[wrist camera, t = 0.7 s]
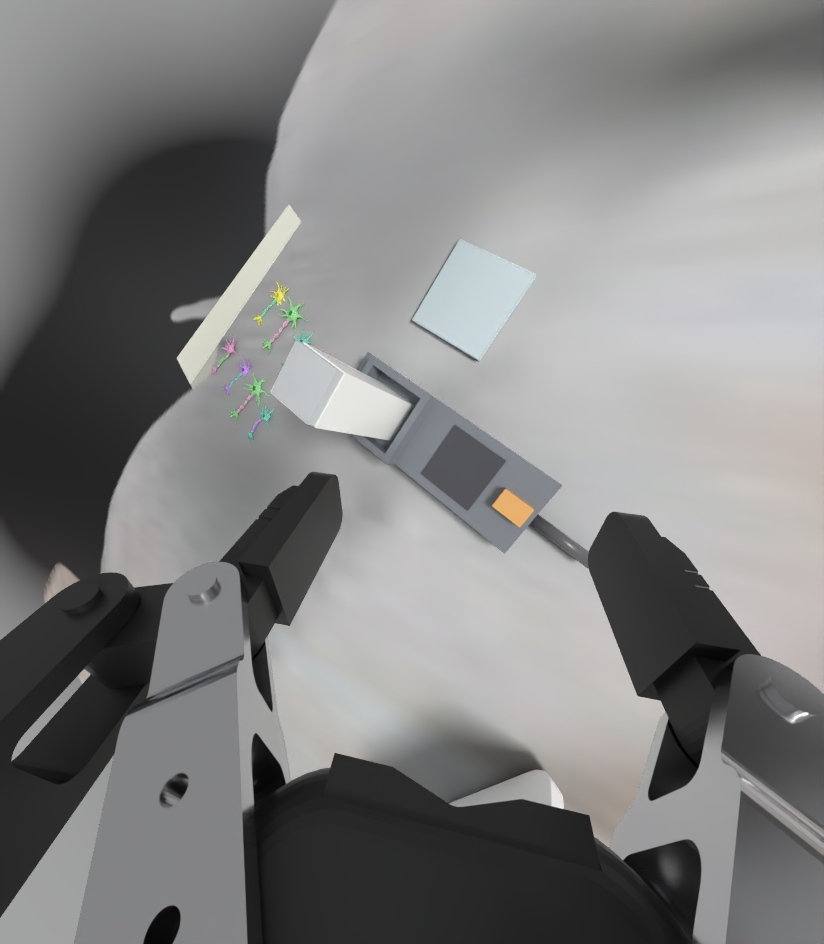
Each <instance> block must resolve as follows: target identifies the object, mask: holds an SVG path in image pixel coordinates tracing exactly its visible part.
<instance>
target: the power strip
mask: <svg viewBox="0 0 824 944" xmlns="http://www.w3.org/2000/svg"><path fill="white" fill-rule="evenodd" d="M358 371H360V372H362V373H364V374H366V375H368V376H370V377H372V378H374V379H375V380H377V381H379V382H381V383H383V384H385V385H386V386H387V387H389V388H390V389H392V390H393V391H394V392H396V393H397V394H399V395H400V396H401V397H403V398H404V399H406V400H407V401H408V402H410V403H411V404H413V405H414V407H413V409H412V410H411V412H410V413H409V415H408V416H407V418H406V420H405V421H404V423H403V424H402V426H401V427H400V429H399V431H398V432H397V434H396V435H395V437H394V438H393V440H392V441H390V440H384V439H378V438H372V437H366V436H360V435H354V434H350V435H351V436H353V437H354V438H355V439H356V440H358V441H359V442H360V443H361V444H362V445H364V446H365V447H366V448H367V449H368V450H370V451H371V452H372V453H373V454H374V455H376V456H377V457H378V458H379V459H381V460H382V461H383V462H384V463H385V464H395V465H396V466H398V467H399V468H400V469H401V470H403V471H404V472H405V473H406V474H408V475H409V476H410V477H411V478H412V479H414V480H415V481H416V482H417V483H419V484H420V485H421V486H422V487H423V488H425V489H426V490H427V491H428V492H430V493H431V494H432V495H433V496H434V497H436V498H437V499H438V500H439V501H441V502H442V503H443V504H444V505H446V506H447V507H448V508H449V509H450V510H452V511H453V512H454V513H455V514H457V515H458V516H459V517H460V518H461V519H463V520H464V521H465V522H466V523H468V524H469V525H470V526H471V527H472V528H474V529H475V530H476V531H477V532H479V533H480V534H481V535H482V536H484V537H485V538H486V539H487V540H488V541H490V542H491V543H492V544H493V545H495V546H496V547H497V548H498V549H499V550H501V551H502V552H503V553H504V554H505V552H506V551H507V550H508V549H509V548H510V547H511V545H512V544H513V543H514V542H515V541H516V539H517V538H518V537H519V536H520V535H521V534H522V532H523V531H524V530H525V529H526V528H527V526H528V525H529V524H530V525H531V526H532V527H534V528H535V529H536V530H538V531H539V532H540V533H542V534H543V535H544V536H546V537H547V538H548V539H550V540H551V541H552V542H554V543H555V544H556V545H558V546H559V547H560V548H562V549H563V550H564V551H565V552H567V553H568V554H569V555H571V556H572V557H573V558H575V559H576V560H577V561H579V562H580V563H581V564H583V565H584V566H585V567H587V568H589V567H588V554H589V552H588V551H587V550H585V549H584V548H583V547H581V546H580V545H579V544H577V543H576V542H575V541H573V540H572V539H571V538H569V537H568V536H566V535H565V534H564V533H562V532H561V531H560V530H558V529H557V528H556V527H554V526H553V525H552V524H550V523H549V522H548V521H546V520H545V519H543V518H542V517H541V516H539V515H538V513H539V512H540V511H541V510H542V509H543V508H544V506H545V505H546V504H547V503H548V502H549V500H550V499H551V498H552V497H553V496H554V495H555V493H556V492H557V491H558V490H559V489H560V487H561V486H562V485H561V484H560V483H558V482H557V481H555V480H554V479H552V478H551V477H549V476H548V475H547V474H545V473H544V472H542V471H541V470H539V469H538V468H536V467H535V466H533V465H532V464H531V463H529V462H528V461H526V460H525V459H523V458H522V457H520V456H519V455H517V454H516V453H514V452H513V451H512V450H510V449H509V448H507V447H506V446H504V445H503V444H501V443H500V442H498V441H497V440H496V439H494V438H493V437H491V436H490V435H488V434H487V433H485V432H484V431H482V430H481V429H480V428H478V427H477V426H475V425H474V424H472V423H471V422H469V421H468V420H466V419H465V418H464V417H462V416H461V415H459V414H458V413H456V412H455V411H453V410H452V409H450V408H449V407H447V406H446V405H445V404H443V403H442V402H440V401H439V400H437V399H436V398H434V397H433V396H431V395H430V394H429V393H427V392H426V391H424V390H423V389H421V388H420V387H418V386H417V385H415V384H414V383H413V382H411V381H410V380H408V379H407V378H405V377H404V376H402V375H401V374H399V373H398V372H397V371H395V370H394V369H392V368H391V367H389V366H388V365H386V364H385V363H383V362H382V361H380V360H379V359H378V358H376V357H375V356H373V355H371V354H370V353H367V355H366V356H365V358H364V360H363V362H362V363H361V365H360V367H359V369H358Z"/></svg>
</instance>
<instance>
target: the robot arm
mask: <svg viewBox="0 0 824 944" xmlns="http://www.w3.org/2000/svg"><path fill="white" fill-rule="evenodd" d="M341 522H342V506H341V498H340V490H339V482H338V478H337V476H336V475H333V474H325V473H318V472H311V473H309V474H308V476H307V477H306V478H305V479H304V480H303V482H302V483H301V484H300V485H299V486H291V487H290V488H288V489H286V490H285V491H283V492H282V493H280V494H278V495H277V496H276V497H275V499H274V500H273V501H272V502H271V503H270V504H269V505H268V507H267V509H265V510H264V511H263V512H262V513H261V515H260V516H259V519H258V520H257V519H256V520H255V521H254V523H253V524H252V525H251V526H250V527H249V528H248V530H247V531H246V532H245V533H244V534H243V535H242V536H241V538H240V539H239V540H238V541H237V542H236V543H235V544H234V546H233V547H232V548H231V549H230V550H229V551H228V552H227V554H226V555H225V556H224V557H223V558H222V559H221V560H220V561H219V562H212V563H207V564H204V565H201V566H198V567H196V568H194V569H192V570H190V571H188V572H187V573H185V574H184V575H182V576H181V577H180V578H179V579H178V580H176V581H175V582H174V583H170V584H162V585H153V586H145V587H137V588H134V587H133V586H132V584H131V583H130V582H129V581H128V579H127V578H126V577H125V576H124V575H122V574H119V573H102V574H98V575H94V576H90V577H88V578H85V579H82V580H80V581H78V582H76V583H74V584H72V585H70V586H68V587H67V588H65V589H64V590H62V591H60V592H59V593H58V594H56V595H55V596H54V597H52V598H51V599H50V600H49V601H48V602H46V603H45V604H44V605H43V606H41V607H40V608H39V609H38V610H37V611H35V612H34V613H33V614H32V615H31V616H29V617H28V618H27V619H26V620H24V621H23V622H22V623H21V624H20V625H18V626H17V627H16V628H15V629H13V630H12V631H11V632H10V633H9V634H7V636H5V637H4V638H3V639H1V640H0V917H1V916H2V914H3V913H4V911H5V910H6V909H7V907H8V906H9V904H10V903H11V901H12V900H13V899H14V897H15V896H16V894H17V893H18V891H19V890H20V889H21V887H22V886H23V884H24V883H25V881H26V880H27V878H28V877H29V875H30V874H31V873H32V871H33V870H34V868H35V867H36V866H37V864H38V862H39V861H40V860H41V858H42V857H43V855H44V854H45V853H46V851H47V850H48V848H49V847H50V845H51V844H52V843H53V841H54V840H55V838H56V837H57V835H58V834H59V833H60V831H61V830H62V828H63V827H64V825H65V824H66V822H67V821H68V820H69V818H70V817H71V815H72V814H73V812H74V811H75V810H76V808H77V807H78V805H79V804H80V802H81V801H82V799H83V798H84V797H85V795H86V794H87V792H88V791H89V789H90V788H91V787H92V785H93V784H94V782H95V781H96V779H97V778H98V777H99V775H100V774H101V772H102V771H103V769H104V768H105V766H106V765H107V764H108V762H109V761H110V759H111V758H112V756H113V755H114V758H113V763H112V768H111V772H110V777H109V782H108V786H107V791H106V796H105V800H104V805H103V810H102V814H101V819H100V824H99V828H98V834H97V838H96V843H95V847H94V852H93V857H92V861H91V866H90V871H89V875H88V880H87V885H86V889H85V894H84V900H83V904H82V908H81V913H80V918H79V922H78V927H77V932H76V936H75V941H74V944H824V694H823V693H822V692H821V691H820V690H819V689H818V688H816V687H815V686H814V685H813V684H811V683H810V682H809V681H808V680H806V679H805V678H804V677H802V676H801V675H799V674H798V673H796V672H795V671H793V670H792V669H790V668H788V667H786V666H785V665H783V664H781V663H779V662H776V661H774V660H772V659H769V658H766V657H763V656H761V655H760V654H759V652H758V651H757V650H756V648H755V647H754V646H753V644H752V643H751V642H750V640H749V639H748V638H747V636H746V635H745V634H744V632H743V631H742V630H741V628H740V627H739V626H738V624H737V623H736V621H735V620H734V619H733V617H732V616H731V615H730V613H729V612H728V611H727V609H726V608H725V607H724V605H723V604H722V603H721V601H720V600H719V599H718V597H717V596H716V595H715V593H714V592H713V591H711V590H709V585H708V584H707V583H706V581H705V580H704V579H703V577H702V576H701V575H698V571H697V569H696V568H695V566H694V565H693V564H692V562H691V561H690V560H689V558H688V557H687V556H686V554H685V553H684V552H682V551H681V550H680V549H679V548H678V547H676V546H675V545H674V544H673V543H671V542H670V541H669V540H668V539H667V538H665V537H661V536H660V534H659V533H658V532H657V530H656V529H655V527H654V526H653V524H652V523H651V522H650V520H649V519H648V518H647V517H645V516H642V515H635V514H627V513H619V512H612V513H610V514H609V515H608V516H607V518H606V520H605V521H604V523H603V525H602V527H601V529H600V531H599V533H598V535H597V537H596V538H595V540H594V542H593V544H592V546H591V548H590V550H589V554H588V567H589V571H590V573H591V576H592V579H593V581H594V584H595V586H596V589H597V592H598V594H599V597H600V599H601V602H602V605H603V607H604V610H605V612H606V615H607V618H608V620H609V623H610V625H611V628H612V631H613V633H614V636H615V638H616V641H617V644H618V646H619V649H620V651H621V654H622V657H623V659H624V662H625V664H626V667H627V670H628V672H629V675H630V677H631V680H632V683H633V685H634V688H635V690H636V693H637V696H640V697H645V698H650V699H655V700H660V701H661V702H662V704H663V707H664V709H665V711H666V712H665V713H664V714H663V715H662V716H661V717H660V719H659V722H658V725H657V728H656V732H655V735H654V738H653V741H652V745H651V748H650V751H649V755H648V758H647V761H646V764H645V768H644V771H643V774H642V777H641V781H640V784H639V787H638V791H637V794H636V796H635V799H634V801H633V803H632V805H631V806H630V808H629V809H628V811H627V812H626V813H625V814H624V816H623V817H622V819H621V820H620V822H619V824H618V826H617V827H616V830H615V832H614V834H613V837H612V839H611V842H610V845H609V848H608V847H607V846H606V845H604V844H603V843H602V842H600V841H599V840H598V839H597V838H595V837H594V835H593V831H592V826H591V821H590V817H589V815H585V814H581V813H577V812H573V811H569V810H565V809H561V808H557V807H553V806H549V805H545V804H541V803H536V802H532V801H528V800H524V799H518V800H510V801H502V802H495V803H487V804H480V805H472V806H465V807H456V806H452V805H450V804H448V803H447V802H445V801H444V800H442V799H441V798H439V797H437V796H436V795H434V794H433V793H431V792H430V791H428V790H427V789H425V788H424V787H422V786H421V785H419V784H418V783H416V782H415V781H413V780H412V779H410V778H408V777H407V776H405V775H404V774H402V773H401V772H399V771H398V770H396V769H395V768H393V767H390V766H386V765H382V764H378V763H374V762H370V761H366V760H362V759H357V758H353V757H349V756H345V755H341V754H337V753H335V754H334V758H333V761H332V765H331V768H325V769H320V770H317V771H313V772H310V773H307V774H305V775H302V776H300V777H298V778H296V779H294V780H292V781H291V777H290V769H289V762H288V755H287V749H286V744H285V740H284V735H283V732H282V728H281V725H280V721H279V716H278V710H277V702H276V694H275V687H274V679H273V671H272V663H271V656H270V648H269V640H268V634H269V632H270V631H271V629H272V627H273V625H274V623H278V624H283V625H288V626H290V624H291V622H292V620H293V618H294V616H295V614H296V612H297V611H298V609H299V607H300V605H301V603H302V601H303V599H304V597H305V595H306V593H307V591H308V589H309V587H310V585H311V584H312V582H313V580H314V578H315V576H316V574H317V572H318V570H319V568H320V566H321V564H322V562H323V560H324V558H325V557H326V555H327V553H328V551H329V549H330V547H331V545H332V543H333V541H334V539H335V537H336V535H337V533H338V531H339V529H340V526H341ZM83 669H85V670H87V671H88V672H89V673H90V674H91V675H90V676H89V677H88V679H87V680H86V681H85V682H84V683H83V684H82V685H81V686H80V688H79V689H78V690H77V691H76V692H75V693H74V694H73V695H72V697H71V698H70V699H69V700H68V701H67V702H66V703H65V704H64V706H63V707H62V708H61V709H60V710H59V711H58V712H57V713H56V714H55V716H54V717H53V718H52V719H51V720H50V721H49V723H47V725H46V726H45V727H44V728H43V729H42V730H41V731H40V733H39V734H38V735H37V736H36V737H35V738H34V739H33V740H32V742H31V743H30V744H29V745H28V746H27V747H26V748H25V749H24V751H23V752H22V753H21V754H20V755H19V756H18V757H17V758H15V759H14V760H13V761H12V762H11V758H12V754H13V751H14V749H15V747H16V745H17V743H18V741H19V740H20V739H21V737H22V736H23V735H24V733H25V732H26V731H27V730H28V729H29V728H30V727H31V726H32V725H33V723H34V722H35V721H36V720H37V719H38V718H39V717H40V716H41V715H42V714H43V713H44V711H45V710H46V709H47V708H48V707H49V706H50V705H51V704H52V703H53V702H54V701H55V700H56V698H57V697H58V696H59V695H60V694H61V693H62V692H63V691H64V690H65V689H66V687H68V685H69V684H70V683H71V682H72V681H73V680H74V679H75V678H76V677H77V676H78V675H79V674H80V672H81V671H82V670H83Z"/></svg>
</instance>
